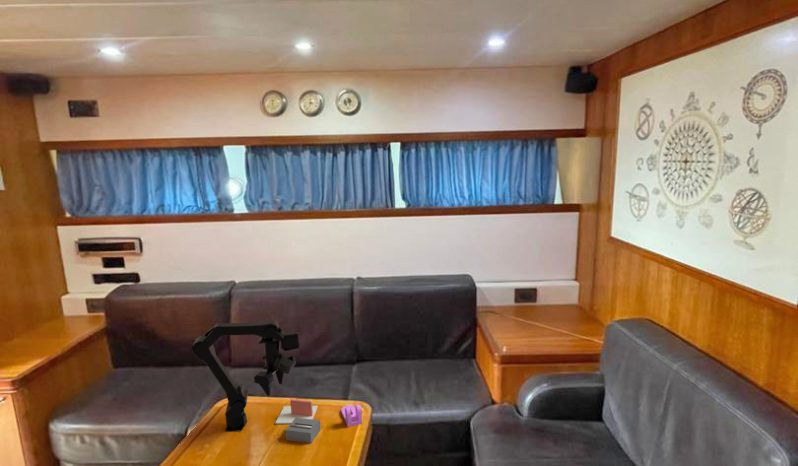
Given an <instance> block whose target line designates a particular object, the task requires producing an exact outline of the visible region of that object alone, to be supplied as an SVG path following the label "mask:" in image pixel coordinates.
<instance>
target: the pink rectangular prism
mask: <svg viewBox="0 0 798 466" xmlns="http://www.w3.org/2000/svg"><path fill="white" fill-rule="evenodd" d="M289 401H290V403H289V404H290V406H291V414H296V415H305V416H313V410H312V406H313V401H311V400H302V399H290V400H289Z"/></svg>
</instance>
